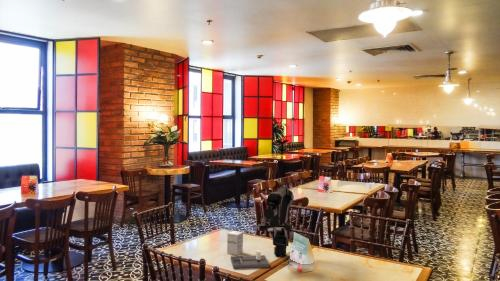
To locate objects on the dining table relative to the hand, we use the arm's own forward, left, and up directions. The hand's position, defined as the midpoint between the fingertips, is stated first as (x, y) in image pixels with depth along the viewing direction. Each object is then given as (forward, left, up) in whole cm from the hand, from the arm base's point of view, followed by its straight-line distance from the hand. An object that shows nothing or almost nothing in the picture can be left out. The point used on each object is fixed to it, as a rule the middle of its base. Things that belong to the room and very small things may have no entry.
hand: (274, 241), depth 221 cm
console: (+14, 0, -12) cm, 18 cm away
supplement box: (+20, -19, -12) cm, 30 cm away
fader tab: (+9, 0, -10) cm, 13 cm away
